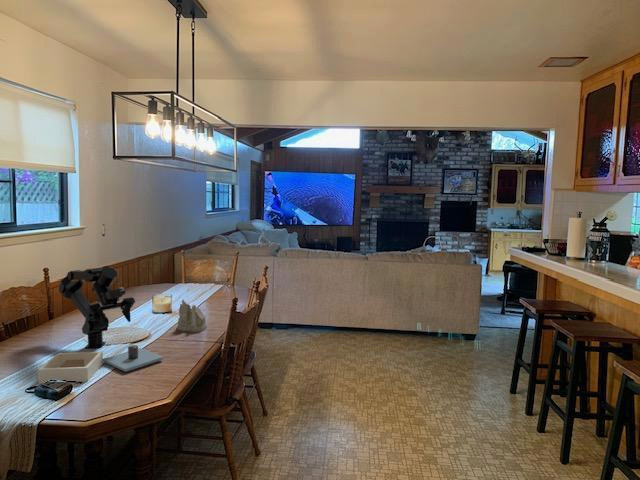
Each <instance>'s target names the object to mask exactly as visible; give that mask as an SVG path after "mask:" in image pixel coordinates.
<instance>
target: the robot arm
mask: <svg viewBox="0 0 640 480" xmlns="http://www.w3.org/2000/svg"><path fill="white" fill-rule="evenodd" d="M117 277H118V272H117V270H115V269H114V268H112V267H110V265H104V266H102V267H95V268H87V269H84V270H80V269H76V270H70V271H68V272H67V274H66V276H65V277H64V278H63V279H62V280H61V281H60V283H59V285H58V292H59V293H60V294H61V295H62V296H63V298H65V299H69V300H71V301H72V303H73V304H74V305H75V306H76V308H77V309H78V310H79V312H80V313H81V314H82V316H83V317H84V324H83V325H82V327H81V330H82V333H83V334H84V335H86V336H87V344H86V345H85V346H84V348H85V349H97V348H99V349H100V348H102V347H103V346H104V345H105V344H106V341H103V339H104V338H103V332H105V331H106V332H107V331H108V329H109V328H108V327H109V326H110V325H109V322H110V321H109V318H108V317H107V316H106V315H107V314H106V313H104V311H108V310H112V309H113V310H114V309H118V308H120V310H121V313H122V315H123V316H124V318H125V319H126V321H127V322H128V323H130V322H131V309H132V308H133V306H134V304H135V303H136V300H135V298H134V297H133V296H129V297H124V298H123V299H122V301H121V302H118V301H119V300H120V298H121V297H123V296H124V295H125V294H126V289H125V288H124V286H120V287H118V288H117V289H112V290H111V286H112V285H113V283H114V281H115V279H116V278H117ZM82 280H84V281H85V282H86V283H93V285H92V287H91V291H92V292H95V295H96V297H97V299H96V301H97V303H92V304H91V303H90V302H89V300H88V299H87V297H85V296H84V294H83V293H82V288H83V284H84V282H83V281H82Z"/></svg>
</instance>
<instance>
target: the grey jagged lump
mask: <svg viewBox="0 0 640 480" xmlns="http://www.w3.org/2000/svg"><path fill="white" fill-rule="evenodd" d="M178 313H179V314H178V316H179V318H178V322H177V326H176V329H177V330H178V331H180V332H181V331H183V332H192V333H194V332H195V333H199V332H204V331H206V330H207V328H208V325H206V321H207V320H206V315H205V314H204V313H203V312H202V311H201V309H200V307H197V305H196V304H192V306H191V305H190V304H189V303H188V304H187V302H186V301H185V300H184V299H182V300H181V304H180V305H179V309H178Z"/></svg>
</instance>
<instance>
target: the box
mask: <svg viewBox="0 0 640 480" xmlns="http://www.w3.org/2000/svg"><path fill="white" fill-rule="evenodd" d="M103 354H104V353H103V351H86V352H84V351H83V352H82V351H81V352H58V353H56V354H55V355H54V356H53V357H51V359H49V360H48V361H47V362H46V363H44V364H43V365H42V366H41V367H39V368H38V369H37V371H38V374H37V375H38V384H45V383H44V382H46V381H48V380H53V379H58V380H66V381H76V382H75V383H80V382H81V383H85V382H86V383H87V382H89V381H90V380H91V379H92V378H93V377H94V375H95V374H96V373H97V372H98V371H99V369H100V368H101V367H102V366H103V365H104V362H103V359H104V355H103Z"/></svg>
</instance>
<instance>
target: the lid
mask: <svg viewBox="0 0 640 480" xmlns="http://www.w3.org/2000/svg"><path fill="white" fill-rule="evenodd" d="M161 360H164V356H162V355H159V354H157V353H154V352H152V351H150V350H147V349H145V348H141V347H139V345H136V344H134V345H133V344H132V345H130V346H128V347H127V351H125V352H121V353H119V354H115V355H111V356H108V357H105V358H104V357H103V363H105V364H108V365H110V366H113V367H114V368H117V369H118V370H121V371H123V372H131V371H134V370H136V369H140V368H143V367H146V366H149V365H151V364H154V363H157V362H159V361H161Z"/></svg>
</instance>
